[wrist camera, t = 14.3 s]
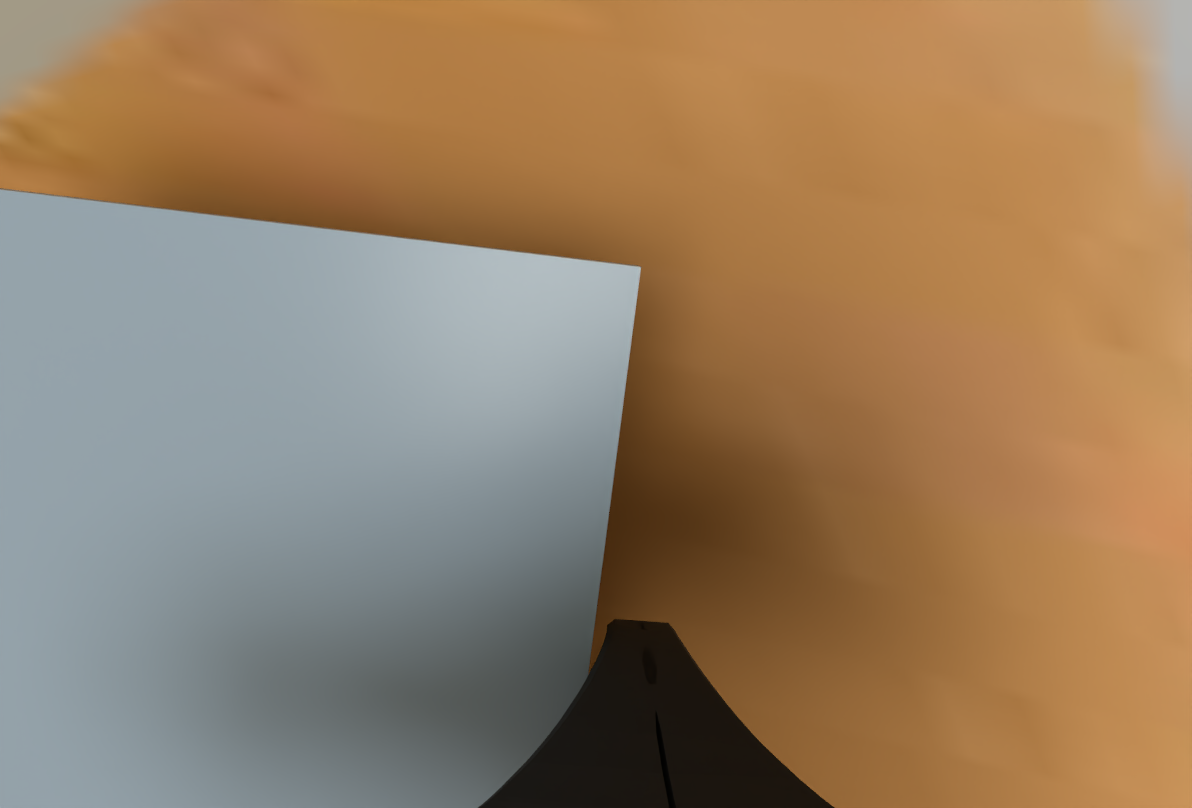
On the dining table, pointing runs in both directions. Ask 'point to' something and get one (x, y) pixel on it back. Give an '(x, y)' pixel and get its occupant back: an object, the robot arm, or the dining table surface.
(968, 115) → the dining table surface
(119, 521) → the cover
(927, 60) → the dining table surface
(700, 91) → the dining table surface
